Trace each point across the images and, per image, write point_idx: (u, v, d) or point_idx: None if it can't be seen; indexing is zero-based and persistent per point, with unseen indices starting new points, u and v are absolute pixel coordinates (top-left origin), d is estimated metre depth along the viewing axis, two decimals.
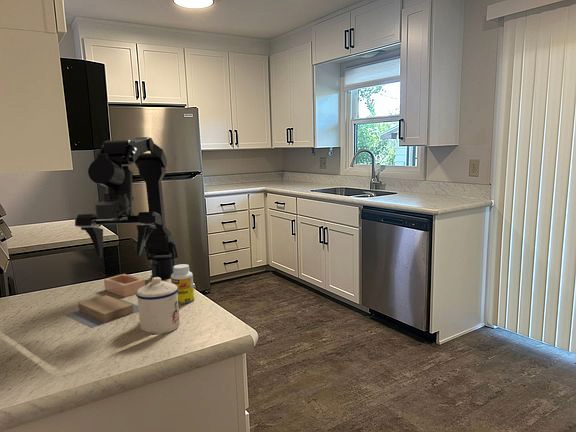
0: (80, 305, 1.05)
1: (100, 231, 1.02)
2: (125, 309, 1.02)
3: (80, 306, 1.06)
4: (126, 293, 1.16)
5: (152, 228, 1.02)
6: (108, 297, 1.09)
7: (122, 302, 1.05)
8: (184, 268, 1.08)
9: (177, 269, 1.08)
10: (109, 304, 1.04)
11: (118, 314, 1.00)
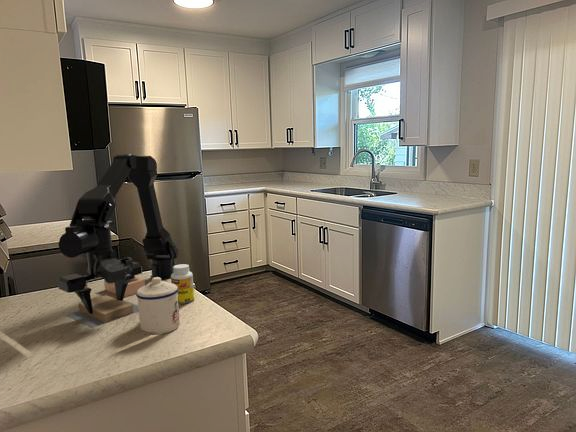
0: (80, 305, 1.05)
1: None
2: (125, 309, 1.02)
3: (80, 306, 1.06)
4: (126, 293, 1.16)
5: None
6: (108, 297, 1.09)
7: (122, 302, 1.05)
8: (184, 268, 1.08)
9: (177, 269, 1.08)
10: (109, 304, 1.04)
11: (118, 314, 1.00)
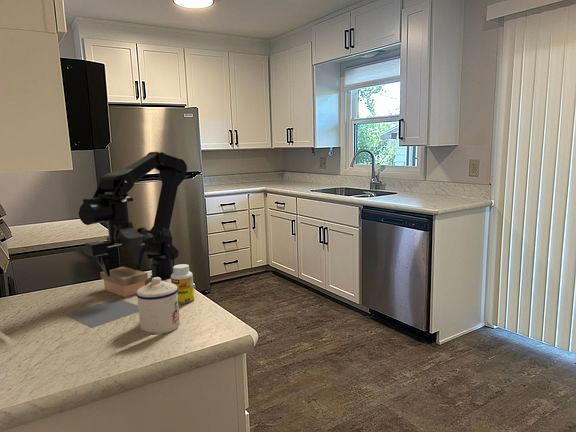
0: (101, 274, 1.22)
1: None
2: (140, 276, 1.18)
3: (101, 275, 1.22)
4: (126, 293, 1.16)
5: None
6: (125, 268, 1.26)
7: (138, 271, 1.21)
8: (184, 268, 1.08)
9: (177, 269, 1.08)
10: (127, 273, 1.20)
11: (135, 280, 1.17)
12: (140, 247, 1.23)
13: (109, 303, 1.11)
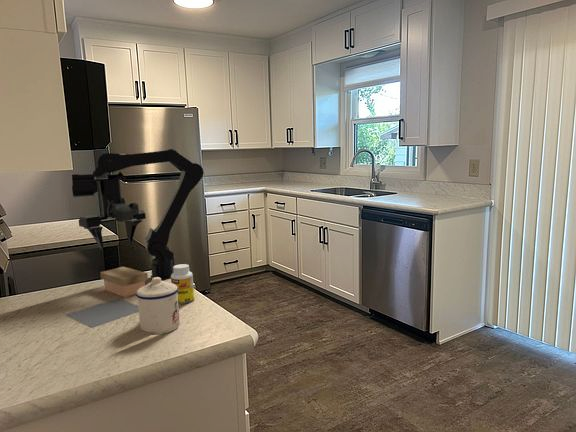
0: (101, 274, 1.22)
1: None
2: (140, 276, 1.18)
3: (101, 275, 1.22)
4: (126, 293, 1.16)
5: None
6: (125, 268, 1.26)
7: (138, 271, 1.21)
8: (184, 268, 1.08)
9: (177, 269, 1.08)
10: (127, 273, 1.20)
11: (135, 280, 1.17)
12: (132, 222, 1.31)
13: (109, 303, 1.11)
